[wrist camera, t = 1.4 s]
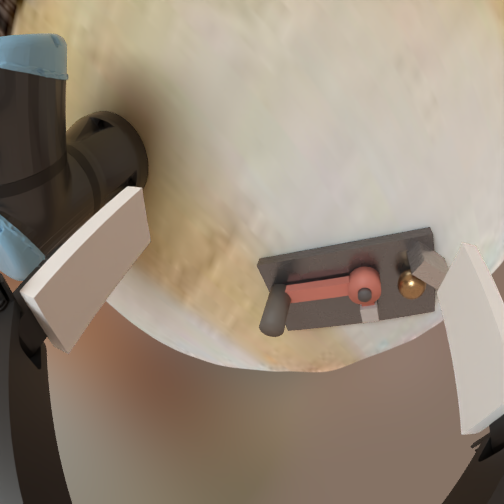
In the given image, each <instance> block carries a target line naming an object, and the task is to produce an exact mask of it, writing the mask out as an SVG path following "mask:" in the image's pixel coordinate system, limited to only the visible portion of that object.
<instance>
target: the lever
mask: <svg viewBox="0 0 504 504" xmlns="http://www.w3.org/2000/svg"><path fill="white" fill-rule="evenodd" d="M380 295H381V282H380V275H379V273H378V272H377V271H376V270H375V269H374V268H371V267H366V266H363V267H359V268H356V269H354V270H353V271H352V272H351V273H350V275H349V276H345V277H339V278H333V279H326V280H320V281H313V282H306V283H300V284H293V285H285V284H275V285H273V286H272V288H271V290H270V293H269V297H268V300H267V303H266V306H265V309H264V313H263V316H262V319H261V322H260V325H259V328H260V330H261V332H262V333H264V334H265V335H268V336H272V337H277V336H280V335H282V334H283V332H284V328H285V323H286V319H287V315H288V311H289V307H290V303H296V302H304V301H312V300H320V299H327V298H335V297H342V296H349V298H350V299H351V300H352V301H353V302H354V303H357V304H360V313H361V317H362V322H363V323H368V322H375V321H379V311H378V305H377V300H378V299H379V297H380Z"/></svg>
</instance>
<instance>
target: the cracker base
mask: <svg viewBox="0 0 504 504" xmlns="http://www.w3.org/2000/svg"><path fill="white" fill-rule="evenodd" d="M363 266H366V267H371V268H374V269H375V270H376V271H377V272H378V273H379V275H380V282H381V295H380V297H379V299H378V300H377V305H378V311H379V320H385V319H391V318H398V317H404V316H410V315H416V314H422V313H427V312H433V311H434V307H435V289H437V290H438V289H439V287H440V286H441V284H442V282H443V280H444V278H445V276H446V274H447V272H448V270H449V269H448V266H447V263H446V261H445V258H444V257H442V256H441V255H439V254H438V253H436V252H435V251H434V244H433V233H432V231H431V228H430V227H428V228H423V229H417V230H412V231H407V232H402V233H396V234H391V235H386V236H381V237H375V238H370V239H365V240H359V241H354V242H348V243H343V244H338V245H332V246H327V247H321V248H316V249H310V250H305V251H300V252H294V253H289V254H283V255H278V256H272V257H266V258H261V259H259V261H258V264H257V267H258V269H259V271H260V273H261V275H262V277H263V279H264V282H265V284H266V286H267V288H268V290H269V292H270V290H271V288H272V286H273V285H275V284H285V285H293V284H300V283H306V282H313V281H320V280H326V279H333V278H339V277H345V276H349V275H350V273H351V272H352V271H353V270H354V269H356V268H359V267H363ZM356 323H363V322H362V317H361V313H360V304H357V303H354V302H353V301H352V300H351V299H350V298H349V296H342V297H335V298H327V299H320V300H312V301H304V302H296V303H290V307H289V311H288V315H287V319H286V323H285V325H286V327H287V329H288V331H289V330H301V329H311V328H321V327H331V326H339V325H348V324H356Z"/></svg>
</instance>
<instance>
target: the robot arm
mask: <svg viewBox="0 0 504 504" xmlns="http://www.w3.org/2000/svg"><path fill="white" fill-rule="evenodd" d="M66 80H68V74H67V44H66V42H65V40H64V39H63V38H62V37H61V36H59V35H57V34H24V35H12V36H3V37H0V270H1V271H2V272H3V273H4V274H6V275H8V276H9V277H10V278H13V279H15V280H18V281H23V282H22V283H21V284H20V285H19V287H18V288H17V289H16V290H15V291H14V292H13V293H12V291H11V290H10V288H9V286H8V284H7V283H6V281H5V279H4V277H3V276H2V274H0V504H72V501H71V498H70V495H69V491H68V488H67V484H66V481H65V477H64V473H63V469H62V465H61V460H60V456H59V452H58V446H57V441H56V436H55V430H54V424H53V417H52V410H51V403H50V393H49V383H48V370H47V353H46V352H47V350H46V345H45V343H44V340H45V339H46V337H48V338H49V340H50V341H51V343H52V344H53V346H54V347H56V348H58V349H60V350H62V351H63V352H65V353H67V354H69V353H70V352H71V350H72V348H73V347H74V345H75V344H76V342H77V341H78V339H79V338H80V336H81V335H82V334H83V332H84V331H85V329H86V328H87V326H88V325H89V323H90V322H91V320H92V319H93V318H94V316H95V315H96V313H97V312H98V311H99V309H100V308H101V306H102V305H103V304H104V302H105V301H106V299H107V298H108V297H109V295H110V294H111V293H112V291H113V290H114V289H115V287H116V286H117V285H118V283H119V282H120V281H121V279H122V278H123V277H124V275H125V274H126V273H127V271H128V270H129V269H130V267H131V266H132V265H133V264H134V262H135V261H136V260H137V258H138V257H139V256H140V255H141V253H142V252H143V251H144V250H145V248H146V247H147V246H148V245H149V243H150V242H151V238H150V232H149V227H148V221H147V215H146V209H145V203H144V196H143V188H144V186H145V183H146V180H147V174H148V161H147V155H146V151H145V148H144V145H143V143H142V141H141V139H140V137H139V135H138V134H137V132H136V131H135V129H134V128H133V127H132V126H131V125H130V124H129V123H128V122H127V121H126V120H125V119H123V118H122V117H120V116H119V115H117V114H114V113H111V112H106V111H99V112H95V113H92V114H89V115H87V116H85V117H83V118H81V119H79V120H78V121H76V122H75V123H74V124H73V125H72V126H71V127H70V128H69V129H68V130H67V131H66V113H65V109H66ZM437 296H438V299H439V303H440V307H441V311H442V315H443V319H444V323H445V327H446V332H447V336H448V341H449V346H450V351H451V356H452V361H453V367H454V373H455V380H456V386H457V394H458V402H459V410H460V421H461V434H474V433H479V432H480V431H482V430H483V429H485V428H486V427H488V426H489V427H490V433H488V434H487V435H485V436H484V437H482V438H481V439H479V440H477V441H476V442H475V443H473V445H472V446H471V448H474V447H475V446H477V445H479V444H480V443H481V444H480V446H479V448H478V449H476V450H475V451H476V453H475V455H474V457H473V458H472V460H471V462H470V464H469V465H468V467H467V468H466V470H465V471H464V473H463V474H462V476H461V478H460V479H459V480H458V482H457V484H456V485H455V486H454V488H453V489H452V491H451V492H450V493H449V495H448V496H447V498H446V499H445V501H444V502H443V503H442V504H504V303H503V301H502V298H501V296H500V294H499V291H498V289H497V287H496V285H495V282H494V280H493V278H492V276H491V274H490V272H489V270H488V268H487V266H486V264H485V262H484V260H483V258H482V256H481V254H480V252H479V250H478V248H477V246H475V245H471V244H467V243H463V242H462V244H461V246H460V248H459V250H458V252H457V254H456V256H455V258H454V260H453V262H452V264H451V266H450V268H449V270H448V272H447V274H446V276H445V278H444V280H443V282H442V284H441V286H440V287H439V289H438V291H437Z"/></svg>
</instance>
